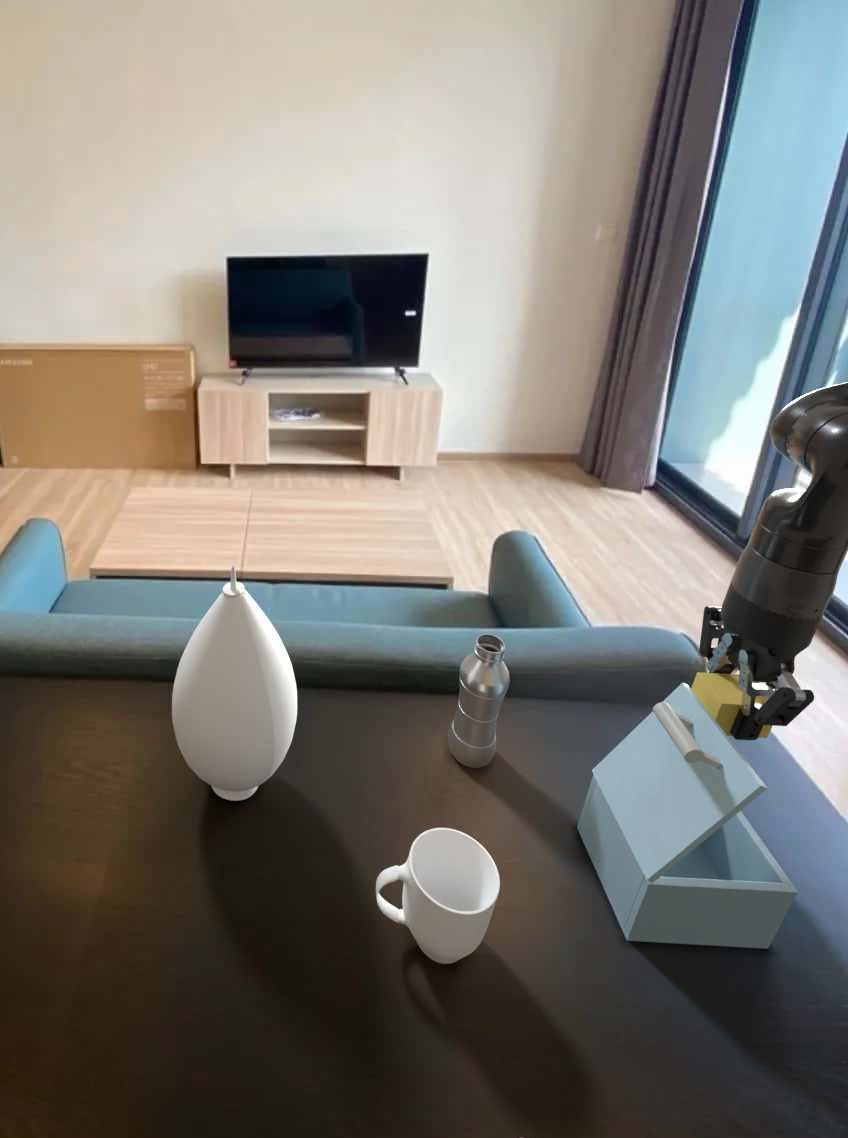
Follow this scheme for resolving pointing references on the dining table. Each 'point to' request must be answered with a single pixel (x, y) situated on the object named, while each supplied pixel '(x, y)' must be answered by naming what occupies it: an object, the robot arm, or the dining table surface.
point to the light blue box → (690, 884)
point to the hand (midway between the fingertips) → (726, 717)
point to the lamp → (234, 696)
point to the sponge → (723, 698)
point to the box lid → (675, 782)
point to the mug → (444, 893)
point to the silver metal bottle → (479, 702)
